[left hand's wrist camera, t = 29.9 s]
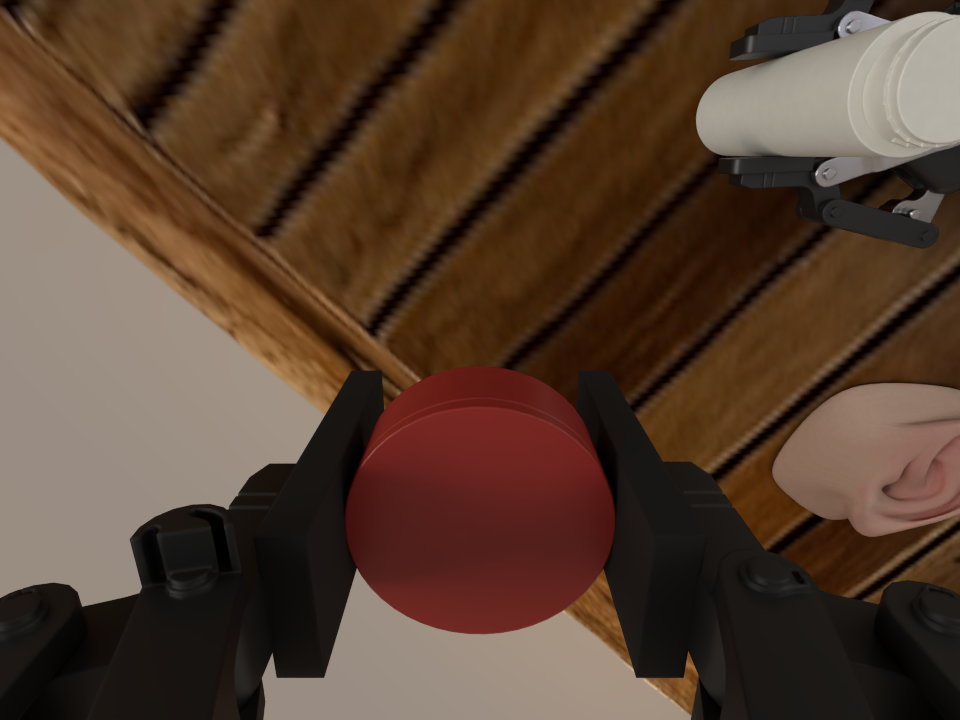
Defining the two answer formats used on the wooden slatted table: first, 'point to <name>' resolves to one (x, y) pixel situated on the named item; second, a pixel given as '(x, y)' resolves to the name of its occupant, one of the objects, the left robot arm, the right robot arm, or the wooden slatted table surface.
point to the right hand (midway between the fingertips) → (732, 109)
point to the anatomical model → (877, 457)
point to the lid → (480, 503)
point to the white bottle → (844, 96)
